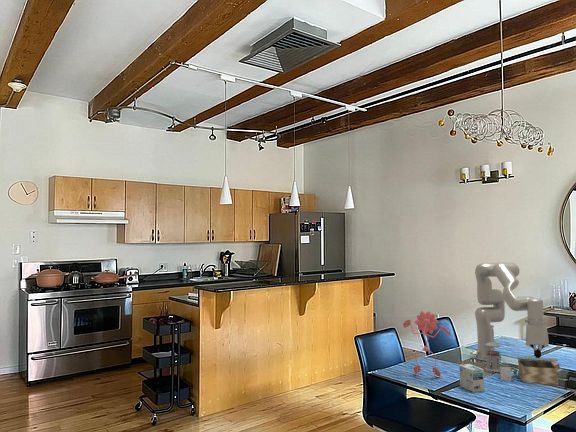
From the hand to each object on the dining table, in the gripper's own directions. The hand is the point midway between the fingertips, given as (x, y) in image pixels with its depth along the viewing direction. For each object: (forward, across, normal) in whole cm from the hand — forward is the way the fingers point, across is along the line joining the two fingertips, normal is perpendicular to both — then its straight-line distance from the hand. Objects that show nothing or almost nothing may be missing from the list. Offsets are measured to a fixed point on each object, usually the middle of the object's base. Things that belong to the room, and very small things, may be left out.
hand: (537, 357), depth 238 cm
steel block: (+12, -16, -2) cm, 20 cm away
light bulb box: (+12, -34, -22) cm, 42 cm away
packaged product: (+12, +8, +20) cm, 25 cm away
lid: (+2, 0, +2) cm, 3 cm away
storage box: (+12, 0, +2) cm, 12 cm away
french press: (+12, -20, +16) cm, 28 cm away
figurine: (+12, -55, -5) cm, 57 cm away
